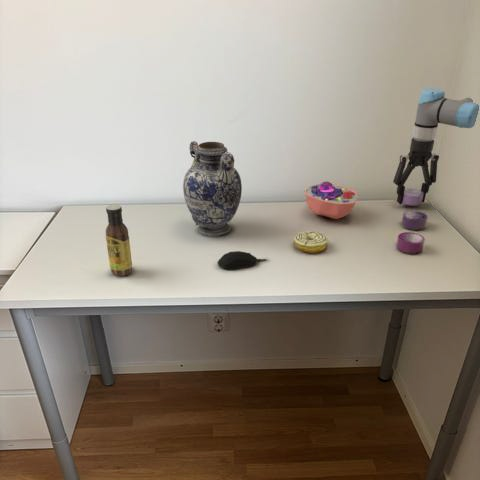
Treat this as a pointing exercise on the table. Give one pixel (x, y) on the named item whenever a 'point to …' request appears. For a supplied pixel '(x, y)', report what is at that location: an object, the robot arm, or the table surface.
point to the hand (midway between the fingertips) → (410, 202)
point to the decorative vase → (212, 188)
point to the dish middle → (414, 220)
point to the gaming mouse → (237, 260)
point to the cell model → (330, 200)
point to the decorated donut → (310, 242)
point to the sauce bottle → (118, 242)
